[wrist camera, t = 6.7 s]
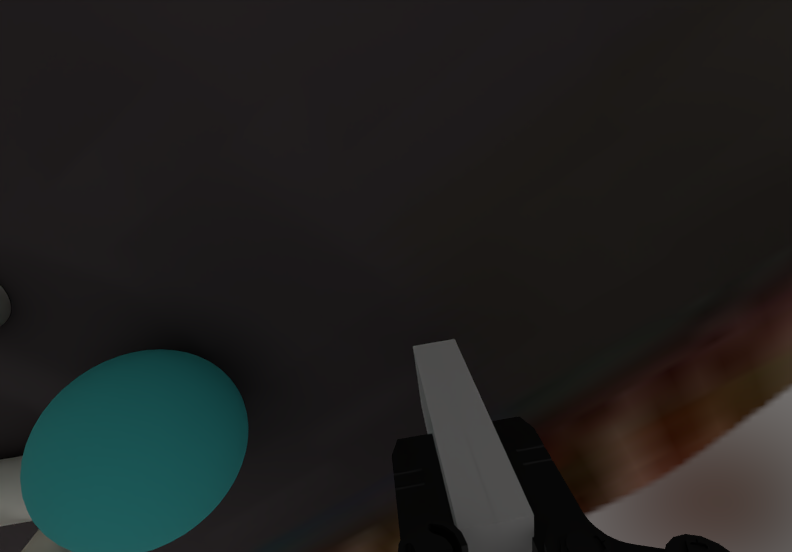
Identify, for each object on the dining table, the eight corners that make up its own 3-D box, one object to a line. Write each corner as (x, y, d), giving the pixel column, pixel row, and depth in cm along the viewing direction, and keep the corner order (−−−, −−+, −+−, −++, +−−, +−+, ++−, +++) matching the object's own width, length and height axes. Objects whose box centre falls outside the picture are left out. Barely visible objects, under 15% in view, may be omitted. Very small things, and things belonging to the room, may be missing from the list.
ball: (67, 522, 14) (226, 417, 17) (106, 662, 10) (300, 487, 14) (-32, 390, 11) (177, 302, 15) (-33, 503, 7) (250, 346, 11)
